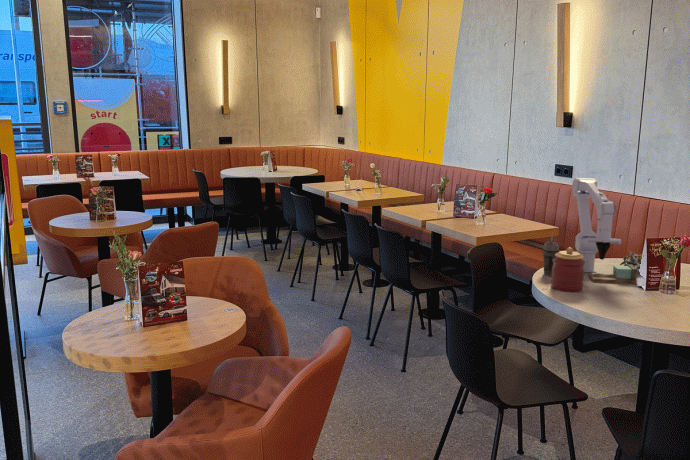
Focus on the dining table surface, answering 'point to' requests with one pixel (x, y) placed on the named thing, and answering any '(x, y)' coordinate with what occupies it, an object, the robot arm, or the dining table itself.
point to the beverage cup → (549, 255)
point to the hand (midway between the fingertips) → (601, 259)
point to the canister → (568, 271)
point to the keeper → (622, 272)
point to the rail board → (612, 279)
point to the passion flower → (633, 260)
